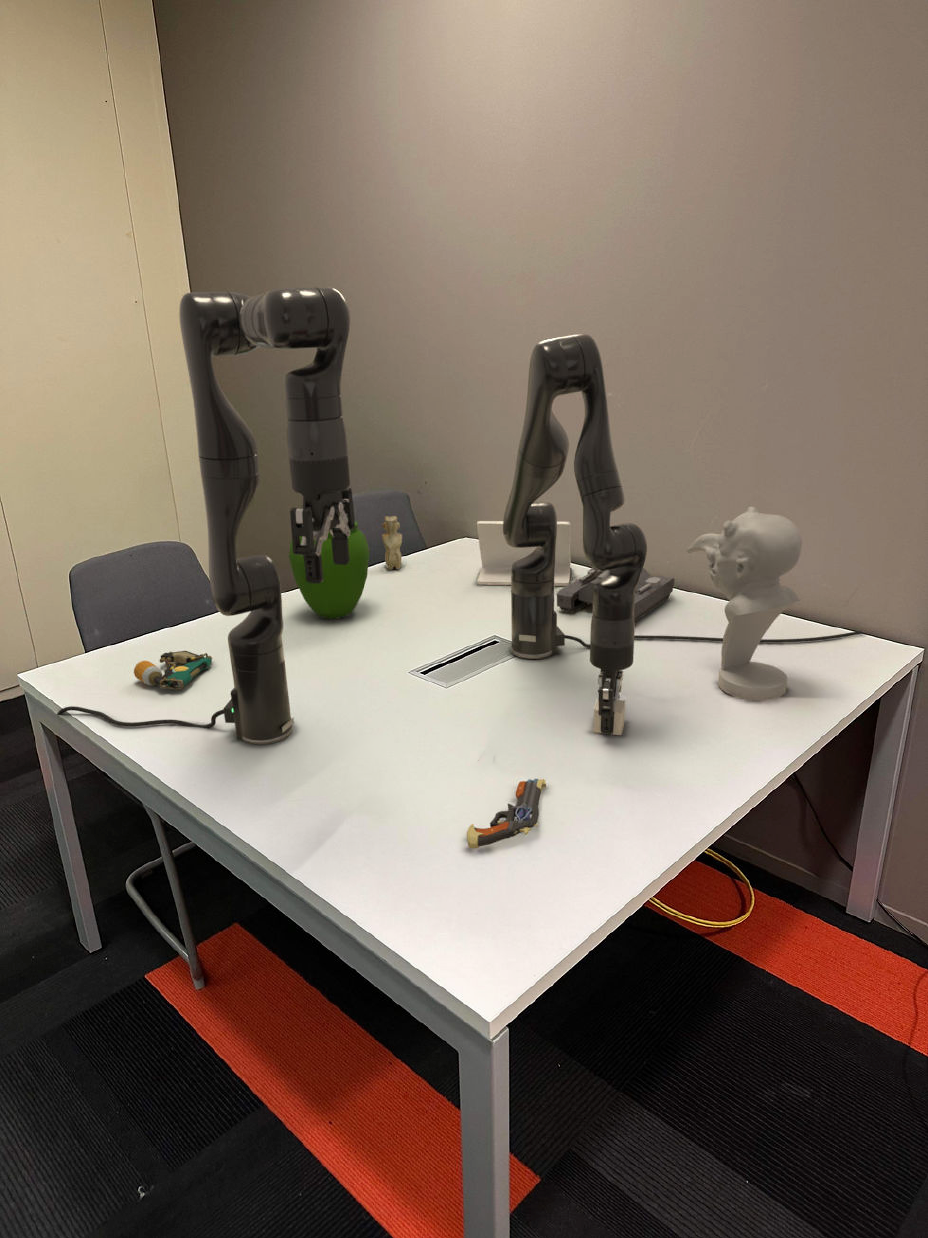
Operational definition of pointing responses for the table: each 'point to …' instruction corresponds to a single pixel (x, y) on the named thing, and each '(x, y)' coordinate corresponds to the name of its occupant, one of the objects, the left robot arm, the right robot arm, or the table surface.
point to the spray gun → (172, 669)
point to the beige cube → (618, 718)
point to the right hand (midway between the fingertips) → (609, 725)
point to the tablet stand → (517, 554)
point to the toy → (646, 592)
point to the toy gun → (511, 816)
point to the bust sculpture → (751, 595)
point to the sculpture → (392, 542)
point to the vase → (334, 577)
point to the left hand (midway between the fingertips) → (328, 572)
